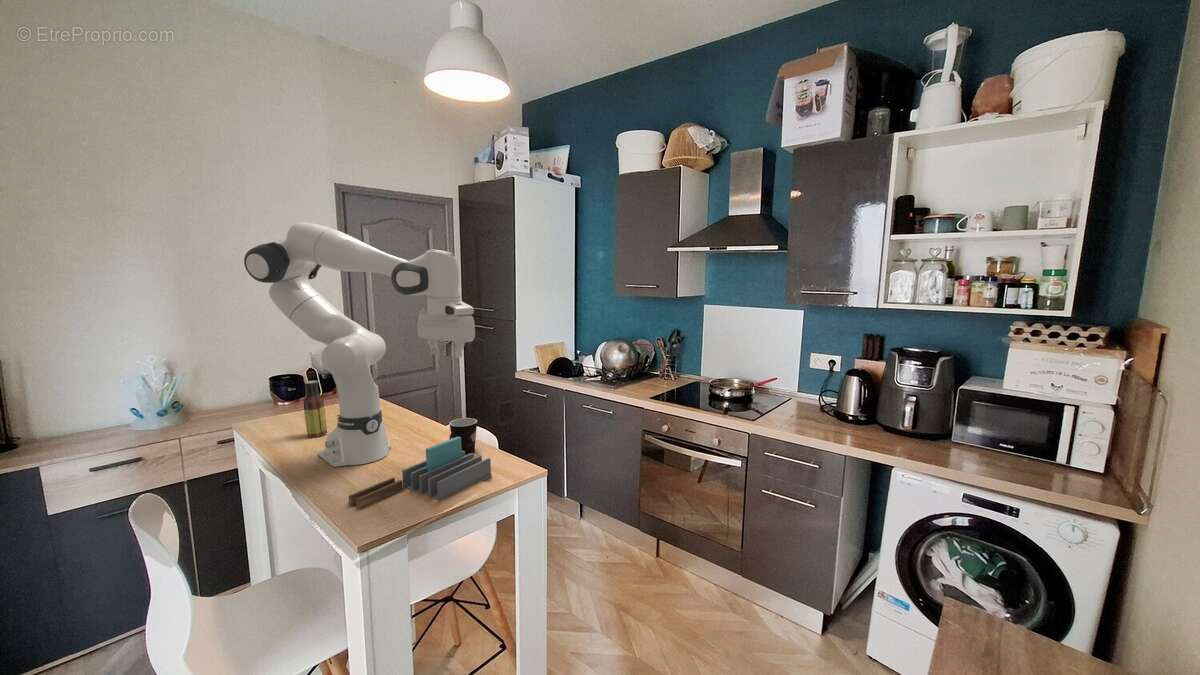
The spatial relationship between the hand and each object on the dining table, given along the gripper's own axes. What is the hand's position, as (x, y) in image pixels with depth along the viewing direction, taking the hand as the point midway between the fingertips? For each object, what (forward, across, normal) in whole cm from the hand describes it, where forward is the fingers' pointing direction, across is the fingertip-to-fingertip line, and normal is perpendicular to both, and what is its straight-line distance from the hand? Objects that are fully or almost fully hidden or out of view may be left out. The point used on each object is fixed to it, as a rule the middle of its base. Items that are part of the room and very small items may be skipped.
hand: (446, 355), depth 130 cm
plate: (+33, +5, -6) cm, 34 cm away
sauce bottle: (+34, -64, -5) cm, 73 cm away
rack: (+34, +7, -7) cm, 35 cm away
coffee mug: (+34, -7, +10) cm, 36 cm away
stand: (+34, -1, -23) cm, 41 cm away
